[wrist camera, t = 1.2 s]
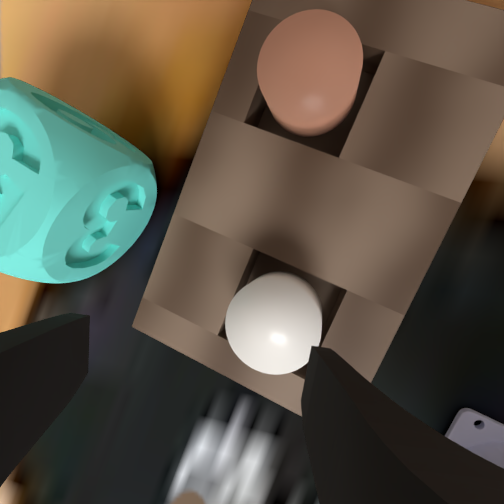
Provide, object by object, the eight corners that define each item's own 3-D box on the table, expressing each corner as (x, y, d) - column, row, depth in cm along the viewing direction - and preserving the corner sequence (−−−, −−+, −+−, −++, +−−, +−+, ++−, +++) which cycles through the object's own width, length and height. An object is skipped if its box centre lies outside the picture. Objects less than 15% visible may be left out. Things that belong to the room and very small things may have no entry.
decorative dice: (36, 210, 24) (-105, 199, 16) (87, 112, 22) (-41, 48, 15) (118, 275, 23) (8, 297, 15) (177, 176, 21) (90, 143, 13)
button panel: (512, 59, 17) (552, 22, 14) (340, 407, 20) (343, 438, 17) (279, -7, 19) (270, -51, 16) (157, 314, 22) (131, 326, 19)
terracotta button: (372, 61, 16) (381, 25, 13) (334, 149, 16) (335, 132, 14) (288, 35, 17) (280, -3, 14) (255, 120, 17) (241, 99, 14)
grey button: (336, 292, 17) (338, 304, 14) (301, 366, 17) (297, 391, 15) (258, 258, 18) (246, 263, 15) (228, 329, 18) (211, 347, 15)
